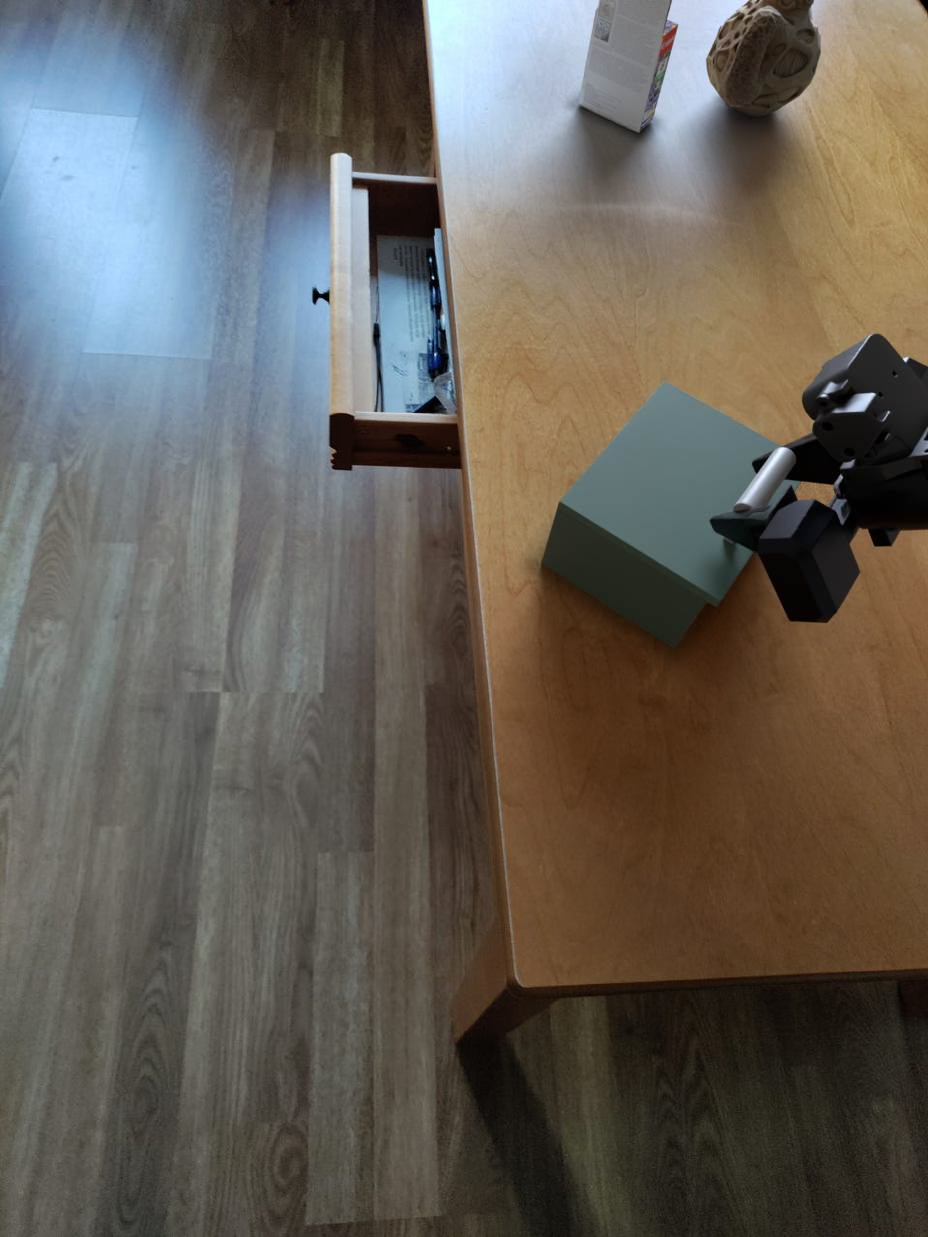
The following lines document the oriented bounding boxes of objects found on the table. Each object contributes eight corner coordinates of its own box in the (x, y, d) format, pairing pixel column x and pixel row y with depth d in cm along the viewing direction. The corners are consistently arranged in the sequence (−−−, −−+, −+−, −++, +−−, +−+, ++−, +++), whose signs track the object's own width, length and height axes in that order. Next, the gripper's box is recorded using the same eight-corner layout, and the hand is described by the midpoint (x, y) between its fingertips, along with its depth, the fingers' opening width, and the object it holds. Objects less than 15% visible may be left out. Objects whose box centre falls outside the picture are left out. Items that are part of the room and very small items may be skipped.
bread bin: (762, 521, 68) (798, 465, 62) (674, 649, 61) (705, 601, 56) (637, 447, 71) (661, 388, 65) (540, 563, 64) (556, 508, 58)
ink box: (592, 91, 96) (624, -63, 83) (654, 120, 94) (696, -33, 81) (575, 105, 94) (605, -49, 82) (637, 135, 92) (678, -19, 80)
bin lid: (809, 470, 62) (840, 424, 58) (716, 607, 55) (744, 566, 51) (661, 387, 65) (680, 337, 60) (556, 508, 58) (570, 461, 54)
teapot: (723, 48, 103) (773, -105, 90) (816, 79, 101) (880, -72, 88) (666, 138, 93) (712, -20, 80) (767, 174, 91) (832, 18, 78)
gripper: (1010, 246, 46) (752, 315, 58) (879, 453, 38) (610, 483, 50) (1052, 420, 51) (806, 450, 63) (945, 636, 43) (686, 622, 55)
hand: (734, 494), depth 58 cm, fingers closed on bin lid, 6 cm apart
